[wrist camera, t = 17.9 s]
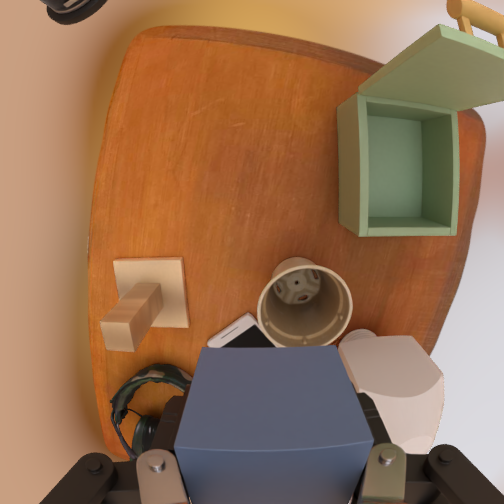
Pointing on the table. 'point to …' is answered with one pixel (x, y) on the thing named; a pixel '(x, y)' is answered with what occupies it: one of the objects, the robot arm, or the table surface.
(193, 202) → the table surface
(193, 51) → the table surface
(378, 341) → the light fixture
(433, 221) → the chest
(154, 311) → the post
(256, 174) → the table surface
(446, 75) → the lid
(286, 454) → the block
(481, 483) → the robot arm
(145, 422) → the headphones
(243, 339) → the smartphone
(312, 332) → the flower pot
